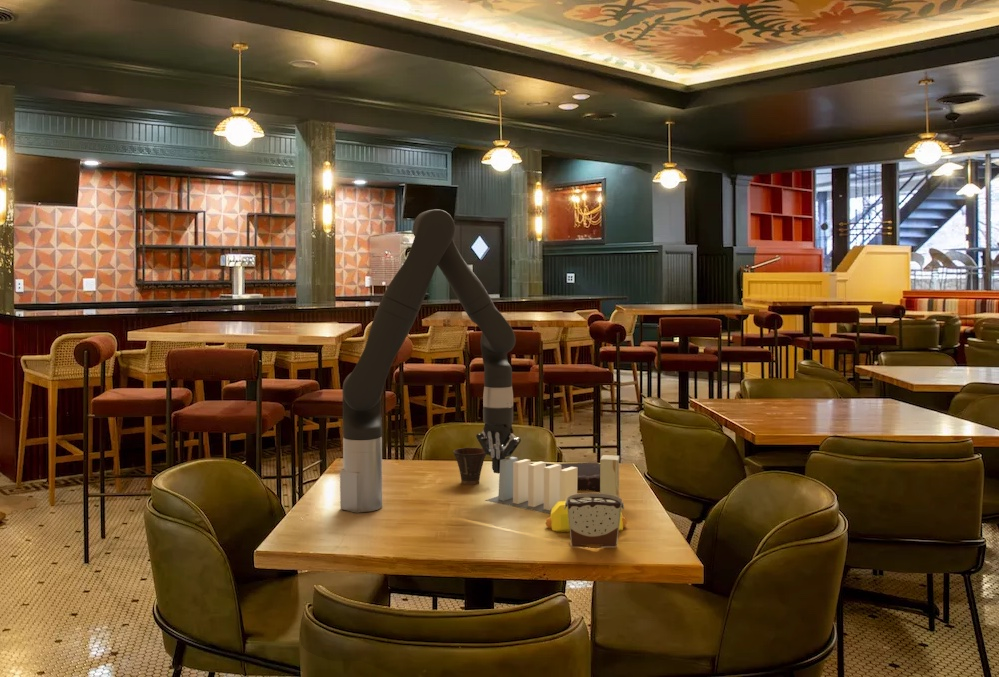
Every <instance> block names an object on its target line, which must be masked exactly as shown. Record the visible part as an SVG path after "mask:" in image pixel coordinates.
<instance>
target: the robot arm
mask: <svg viewBox="0 0 999 677" xmlns="http://www.w3.org/2000/svg"><path fill="white" fill-rule="evenodd" d="M412 232H413V237H414V239H413V241H412V244H411V247H410V249H409V252H408V254H407V257H406V258H405V260H404V262H403V264H402V265H401V267H400V268H399V269H398V270H397V272H396V274H395V275H394V276H393V278H392V279H391V281H390V283H389V284H388V286H387V288H386V289H385V292H384V293H383V296H382V297H381V300H380V302H379V304H378V307H377V309H376V311H375V314H374V317H373V319H372V322H371V325H370V329H369V332H368V337H367V340H366V343H365V346H364V349H363V350H362V351H363V352H362V353H361V355H360V357H359V359H358V361H357V363H356V364H355V366H354V368H353V370H352V372H350V373H349V374H347V376H345V379H344V380H343V383H342V444H343V445H342V446H343V447H342V453H343V454H342V456H343V457H342V462H343V463H342V466H343V469H340V470H339V482H340V483H339V485H340V486H339V487H340V488H339V490H340V491H339V492H340V493H339V496H340V498H339V499H340V502H339V503H340V506H339V507H340V510H344V511H348V512H352V513H355V514H359V513H366V512H373V511H379V510H380V509H382V508H383V427H382V426H383V422H382V420H383V419H382V396H383V390H384V387H385V384H386V383H387V382H386V381H387V378H388V375H389V372H390V369H391V368H392V364H393V363H394V360H395V358H396V356H397V355H398V353H399V352H400V349H401V348H402V347H403V344H404V343H405V340H406V339H407V337H408V335H409V333H410V331H411V329H412V327H413V325H414V323H415V321H416V318H417V316H418V314H419V312H420V310H421V308H422V307H421V306H422V305H423V301H424V300H425V298H426V294H427V292H428V289H429V287H430V285H431V284H430V283H431V281H432V278H433V275H434V273H435V271H436V269H437V267H438V268H439V270H440V271H441V273H442V274H443V275H444V277H445V279H446V280H447V282H448V283H449V285H450V287H451V289H452V291H453V292H454V294H455V297H456V298H457V299H458V301H459V304H460V305H461V306H462V308H463V309H464V311H465V313H466V315H467V316H468V318H469V320H471V321H472V323H474V324H475V325H477V326H478V329H479V330H480V332H481V335H480V352H481V358H482V363H483V368H484V369H483V370H484V372H483V374H484V375H483V376H484V378H483V379H484V380H483V383H484V384H483V386H484V387H483V394H482V395H483V396H482V399H483V400H482V401H483V402H482V404H483V406H482V408H483V409H482V410H483V411H482V416H483V418H482V420H483V421H482V422H483V423H484V426H483V430H482V431H481V432H480V433H477V434H476V439H477V441H478V443H479V444H480V447H482V448H481V449H483V450H484V452H485V453H486V455H487V456H488V455H489V456H490V457H491V469H492V471H493V473H494V474H498V475H500V460H502V459H506V458H508V457H512V455H513V453H514V452H515V450H516V449H517V448H518V447H519V446H518V445H519V444H520V443H521V441H522V440H521V438H520V437H517V436H516V435H515V434H514V429H513V423H514V390H513V368H512V366H511V364H510V363H509V360H508V353H509V352H511V351H512V350H513V349H514V348H515V346H516V340H517V339H516V334H515V332H514V330H513V327H512V326H511V325H510V323H509V322H508V321H507V319H506V318H505V317H504V315H503V314H502V313H501V312H500V310H498V308H497V307H496V305H495V304H494V301H493V299H492V298H491V296H490V294H489V293H488V291H487V290H486V288H485V286H484V284H483V283H482V281H481V280H480V279H479V278H478V276H477V275H476V274H475V272H474V271H473V270H472V269H471V267H470V266H469V265H468V263H467V262H466V261H465V259H464V258H463V256H462V254H461V253H460V251H459V249H458V248H457V246H456V243H455V241H454V237H455V234H456V225H455V221H454V219H453V216H451V214H450V213H448V212H447V211H446V210H443V209H437V208H435V209H429V210H426V211H423V212H421V213H419V214H418V215H417V216H416V217H415V219H414V222H413V225H412Z"/></svg>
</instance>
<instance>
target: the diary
mask: <svg viewBox="0 0 999 677" xmlns="http://www.w3.org/2000/svg"><path fill="white" fill-rule="evenodd" d="M533 463H534V462H531V464H533ZM554 464H555V463H550V462H549V463H548V462H546V467H547V466H551V465H554ZM558 464H559V465H561V470H562V469H566V468H569V467H578V470H577V492H579V491H591V492H595V493H600V463H599V462H597V461H592V462H588V461H587V462H567V463H558Z"/></svg>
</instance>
